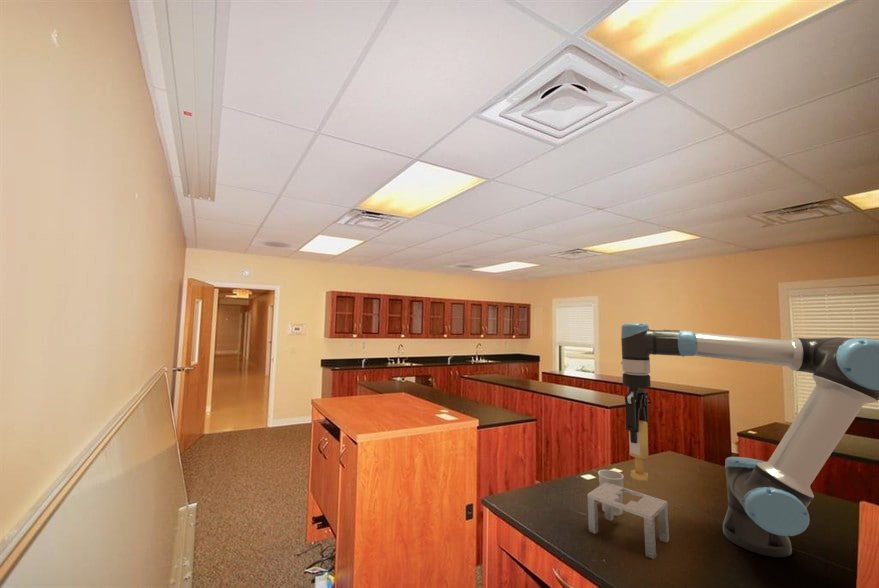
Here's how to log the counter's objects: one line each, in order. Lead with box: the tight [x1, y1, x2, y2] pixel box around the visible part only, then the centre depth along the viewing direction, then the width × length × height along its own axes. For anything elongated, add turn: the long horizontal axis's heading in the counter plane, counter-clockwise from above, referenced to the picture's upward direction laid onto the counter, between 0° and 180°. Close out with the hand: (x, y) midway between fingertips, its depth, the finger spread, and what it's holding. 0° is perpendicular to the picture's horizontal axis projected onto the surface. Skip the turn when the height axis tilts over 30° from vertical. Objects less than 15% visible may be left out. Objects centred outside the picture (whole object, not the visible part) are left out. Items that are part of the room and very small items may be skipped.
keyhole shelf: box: [586, 482, 670, 560], centre depth 108 cm, size 18×13×11 cm
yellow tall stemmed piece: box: [628, 420, 649, 482], centre depth 108 cm, size 5×5×16 cm
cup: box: [597, 469, 625, 517], centre depth 123 cm, size 8×8×12 cm
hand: (638, 451), depth 108 cm, fingers closed on yellow tall stemmed piece, 5 cm apart
